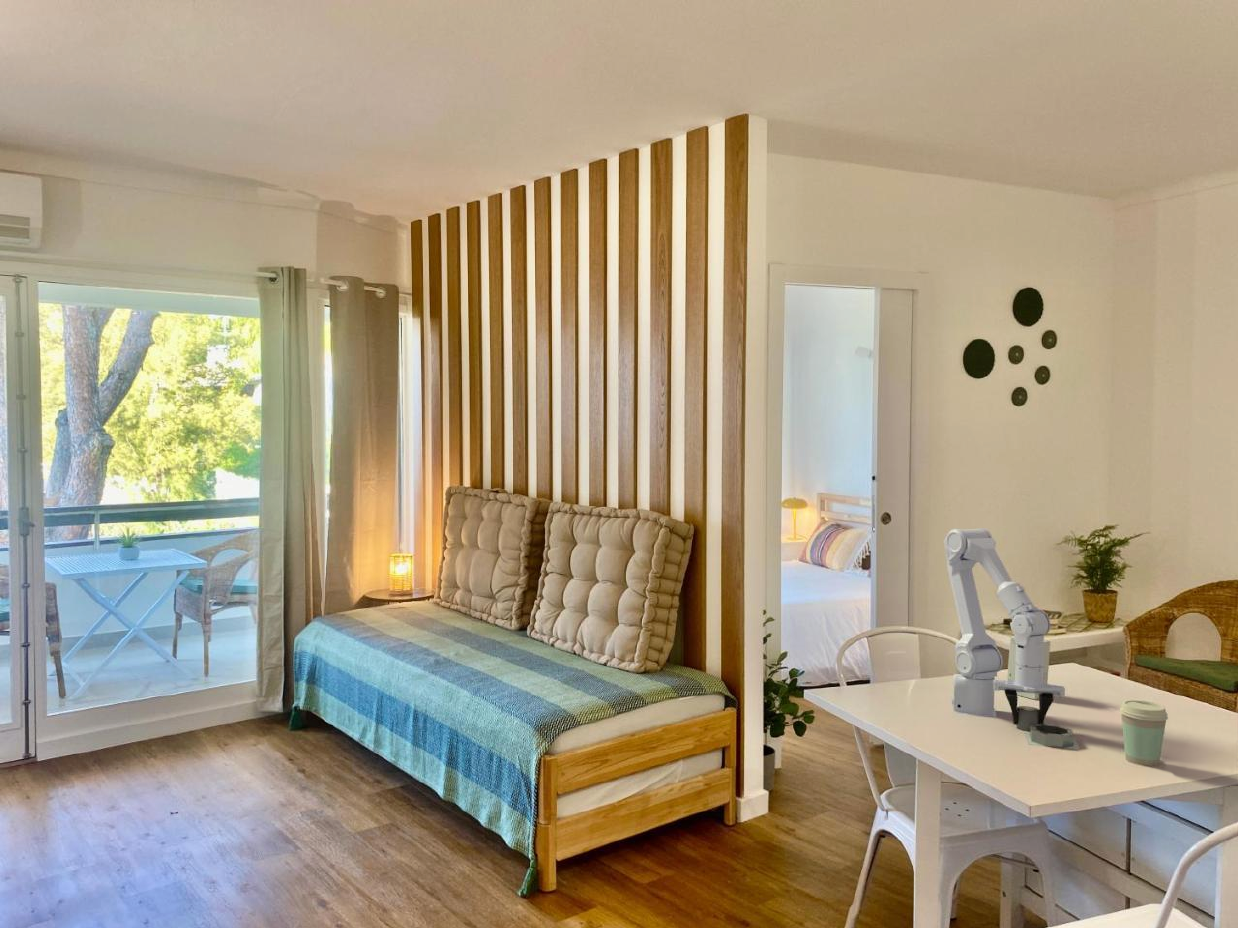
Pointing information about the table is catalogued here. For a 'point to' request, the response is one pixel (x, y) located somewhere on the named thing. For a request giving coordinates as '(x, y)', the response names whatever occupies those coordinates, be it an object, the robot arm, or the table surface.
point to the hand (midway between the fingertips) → (1027, 724)
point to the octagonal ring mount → (1051, 735)
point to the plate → (1048, 746)
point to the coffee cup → (1143, 731)
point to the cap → (1027, 717)
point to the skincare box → (1013, 661)
